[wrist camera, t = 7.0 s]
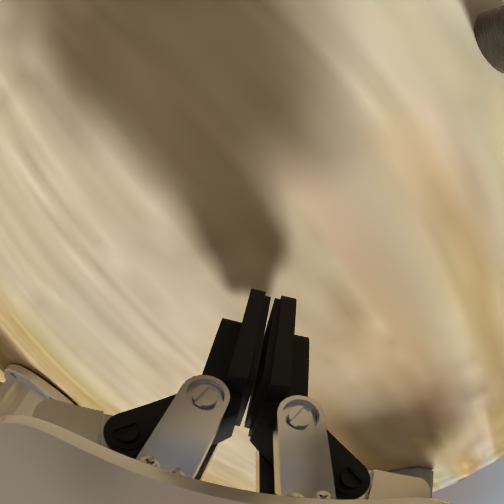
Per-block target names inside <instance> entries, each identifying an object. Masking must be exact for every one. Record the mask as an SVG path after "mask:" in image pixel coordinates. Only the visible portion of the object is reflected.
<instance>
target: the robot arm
mask: <svg viewBox="0 0 504 504" xmlns="http://www.w3.org/2000/svg"><path fill="white" fill-rule="evenodd" d="M265 294H266V292H264V291H259V290H255V289H251V292H250V296H249V299H248V303H247V307H246V310H245V314H244V318H243V321H242V323H240V322H236V321H232V320H228V319H224V318H223V319H222V321H221V323H220V326H219V329H218V331H217V334H216V337H215V340H214V343H213V346H212V348H211V351H210V354H209V357H208V360H207V362H206V365H205V368H204V371H203V374H202V375H197V376H193V377H191V378H189V379H188V380H186V381H185V383H184V384H183V385H182V386H181V388H180V390H179V391H178V393H177V394H175V395H173V396H170V397H167V398H164V399H161V400H159V401H156V402H153V403H150V404H147V405H144V406H141V407H138V408H135V409H132V410H128V411H125V412H122V413H119V414H116V415H114V416H112V415H107V414H104V412H103V411H99V410H94V409H90V408H85V407H81V406H77V405H75V404H74V403H72V402H71V401H70V400H69V399H68V398H67V397H65V396H64V395H63V394H62V393H61V392H59V391H58V390H57V389H55V388H54V387H53V386H52V385H50V384H49V383H48V382H46V381H45V380H43V379H42V378H41V377H39V376H38V375H36V374H34V373H33V372H31V371H30V370H28V369H26V368H24V367H22V366H19V365H16V364H10V365H9V366H8V367H7V368H6V369H5V371H4V375H5V379H6V381H5V382H4V383H3V382H0V504H451V503H449V502H446V501H443V500H439V499H434V498H430V487H429V485H428V483H427V482H426V481H425V480H424V479H421V478H419V477H412V476H407V475H401V474H396V473H391V472H386V471H381V470H377V469H375V470H373V471H371V470H367V469H366V467H365V466H364V465H363V464H362V463H361V462H360V461H359V460H358V459H357V458H355V457H354V456H353V455H352V454H351V453H350V452H349V451H348V450H347V449H346V448H345V447H344V446H343V445H342V444H341V443H340V442H339V441H338V440H337V439H336V438H335V437H334V436H333V435H332V434H331V433H330V432H329V431H328V430H327V429H326V423H325V417H324V413H323V410H322V408H321V407H320V405H319V404H318V403H317V402H315V401H314V400H313V399H311V398H309V397H308V372H309V338H308V337H303V336H298V335H294V331H295V316H296V299H294V298H290V297H285V296H281V299H276V298H275V300H274V304H273V307H272V310H271V314H270V317H269V321H268V324H267V328H266V331H265V327H266V321H267V316H268V310H269V304H270V299H271V297H268V296H265ZM264 332H265V334H264ZM250 395H251V397H250ZM249 398H250V402H249V407H248V411H247V416H246V421H245V427H246V428H250V430H249V435H248V436H250V437H251V438H250V441H251V443H252V444H253V445H254V446H255V447H256V449H257V450H256V492H252V491H246V490H241V489H236V488H231V487H226V486H221V485H217V484H213V483H209V482H205V481H201V480H202V478H203V476H204V474H205V472H206V470H207V468H208V465H209V463H210V461H211V459H212V457H213V455H214V453H215V451H216V449H217V446H218V444H219V442H221V441H223V440H225V439H227V438H229V437H231V436H232V433H233V430H234V426H235V425H237V426H240V424H241V421H242V418H243V415H244V412H245V410H246V407H247V404H248V401H249Z"/></svg>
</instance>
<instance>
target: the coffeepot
mask: <svg viewBox="0 0 504 504" xmlns="http://www.w3.org/2000/svg"><path fill="white" fill-rule="evenodd" d="M389 472H391V473H396V474H401V475H407V476H412V477H419V478H421V479H424V480H425V481H426V482H427V483H428V485H429V487H430V498H432V488H433V471H431V470H429V469H428V468H424V467H413V468H404V469H398V470H393V471H389Z"/></svg>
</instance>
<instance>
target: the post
mask: <svg viewBox="0 0 504 504" xmlns="http://www.w3.org/2000/svg"><path fill="white" fill-rule="evenodd" d="M475 35H476V39H477V43H478V45H479V48H480V50H481V52H482V53H483V55H484V57H485V58H486V59H487V61H488V62H489V63H490V64H491V65H492V66H493V67H494V68H495V69H497V70H498V71H500V72H501V73H504V6H502V7H499V8H495V9H492V10H490V11H487V12H484V13H482V14H480V15H479V16H478V18H477V19H476V22H475Z"/></svg>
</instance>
